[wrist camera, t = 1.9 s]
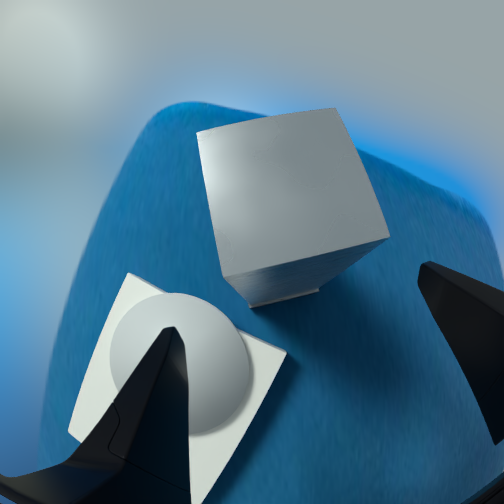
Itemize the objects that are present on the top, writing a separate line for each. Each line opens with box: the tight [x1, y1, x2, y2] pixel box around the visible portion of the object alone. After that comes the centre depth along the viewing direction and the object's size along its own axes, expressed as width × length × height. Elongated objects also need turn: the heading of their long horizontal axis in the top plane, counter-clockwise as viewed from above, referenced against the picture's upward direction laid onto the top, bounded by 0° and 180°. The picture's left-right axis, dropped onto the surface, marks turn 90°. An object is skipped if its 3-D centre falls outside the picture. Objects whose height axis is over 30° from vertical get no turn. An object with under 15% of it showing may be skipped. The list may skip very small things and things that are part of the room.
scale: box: [68, 273, 287, 504], centre depth 17 cm, size 12×16×2 cm
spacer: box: [197, 108, 390, 308], centre depth 14 cm, size 5×5×13 cm
